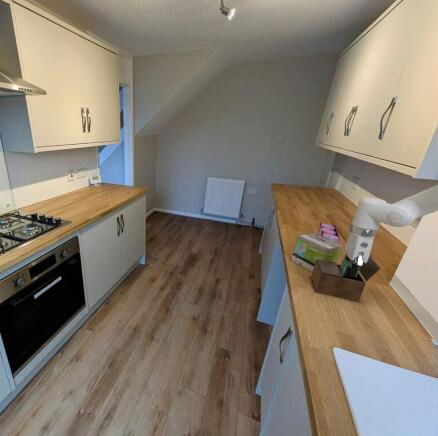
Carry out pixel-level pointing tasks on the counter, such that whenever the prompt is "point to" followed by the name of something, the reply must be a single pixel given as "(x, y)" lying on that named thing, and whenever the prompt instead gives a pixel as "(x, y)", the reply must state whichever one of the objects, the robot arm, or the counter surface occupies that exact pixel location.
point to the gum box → (328, 232)
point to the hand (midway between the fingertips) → (347, 272)
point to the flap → (369, 268)
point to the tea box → (314, 250)
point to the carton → (336, 281)
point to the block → (345, 266)
